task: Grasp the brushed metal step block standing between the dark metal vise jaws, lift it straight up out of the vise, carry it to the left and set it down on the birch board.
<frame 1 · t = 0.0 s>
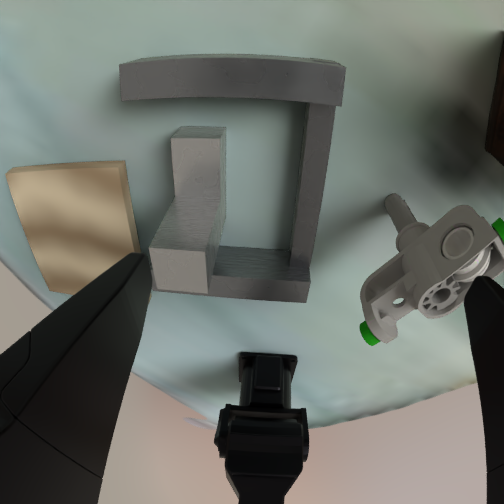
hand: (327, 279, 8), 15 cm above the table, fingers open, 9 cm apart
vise: (204, 173, 22), on the table
mechanical component: (393, 201, 23), on the table
brushed metal step block: (205, 198, 23), on the table
board: (79, 234, 26), on the table
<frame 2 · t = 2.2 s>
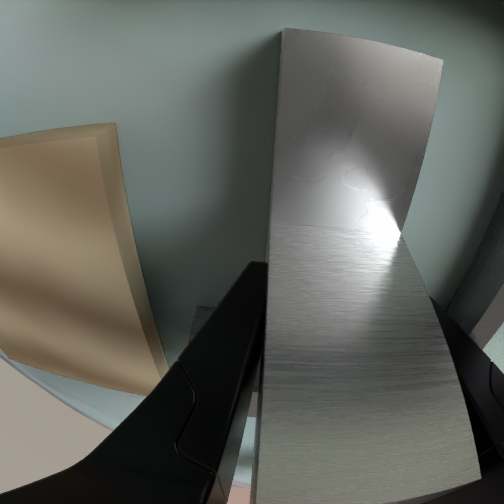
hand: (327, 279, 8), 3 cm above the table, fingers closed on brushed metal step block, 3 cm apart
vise: (327, 162, 9), on the table
brushed metal step block: (317, 222, 10), on the table, touching gripper
board: (35, 281, 13), on the table
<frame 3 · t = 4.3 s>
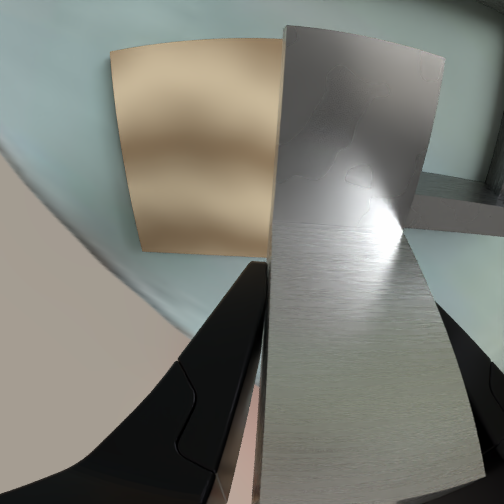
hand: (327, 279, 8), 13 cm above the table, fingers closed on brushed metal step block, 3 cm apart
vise: (427, 77, 15), on the table
brushed metal step block: (319, 220, 10), point 10 cm above the table, touching gripper
board: (222, 152, 19), on the table
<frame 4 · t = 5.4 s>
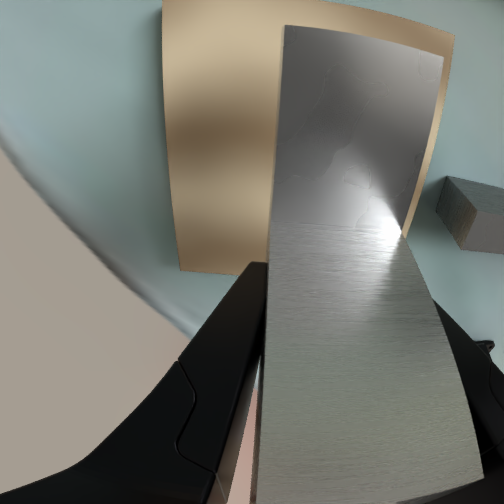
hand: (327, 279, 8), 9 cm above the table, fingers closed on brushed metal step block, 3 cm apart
brushed metal step block: (317, 220, 10), point 6 cm above the table, touching gripper
board: (301, 149, 14), on the table
when the fingers open (4 cm above the table, at t = 6.3 s): brushed metal step block stays where it is, resting on board.
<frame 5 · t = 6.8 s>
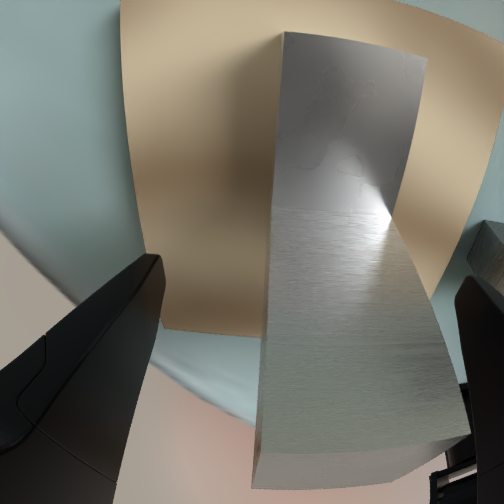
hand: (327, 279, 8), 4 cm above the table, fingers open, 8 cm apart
brushed metal step block: (315, 210, 10), point 1 cm above the table, touching board
board: (311, 191, 11), on the table
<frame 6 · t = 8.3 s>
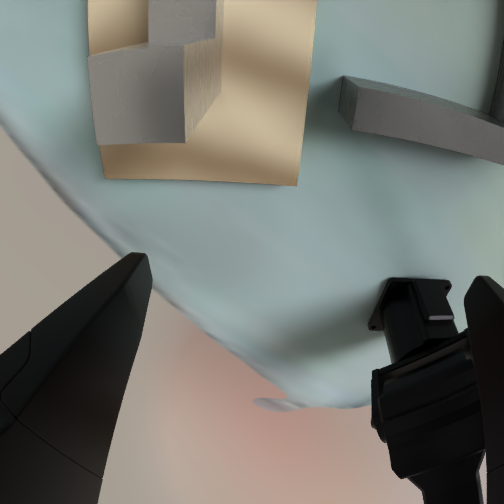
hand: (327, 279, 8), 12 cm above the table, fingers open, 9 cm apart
brushed metal step block: (193, 64, 14), point 1 cm above the table, touching board
board: (197, 60, 15), on the table
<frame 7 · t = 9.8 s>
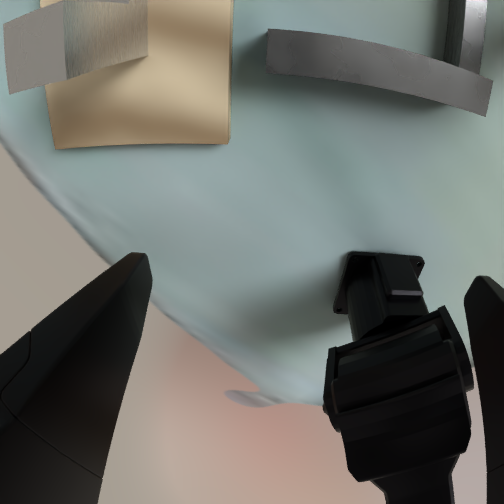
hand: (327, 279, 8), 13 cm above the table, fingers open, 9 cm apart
brushed metal step block: (123, 34, 14), point 1 cm above the table, touching board
board: (131, 32, 15), on the table
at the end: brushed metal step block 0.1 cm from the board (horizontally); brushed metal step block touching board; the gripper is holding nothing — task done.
